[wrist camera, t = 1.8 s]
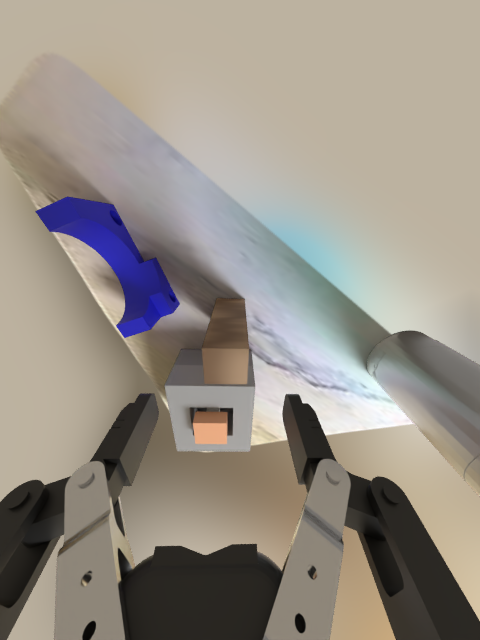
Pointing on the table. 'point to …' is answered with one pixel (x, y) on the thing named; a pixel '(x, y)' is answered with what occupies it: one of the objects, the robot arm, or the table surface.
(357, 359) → the table surface
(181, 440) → the box
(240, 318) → the brown wooden plank
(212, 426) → the button
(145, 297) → the blue bent block
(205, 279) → the table surface
